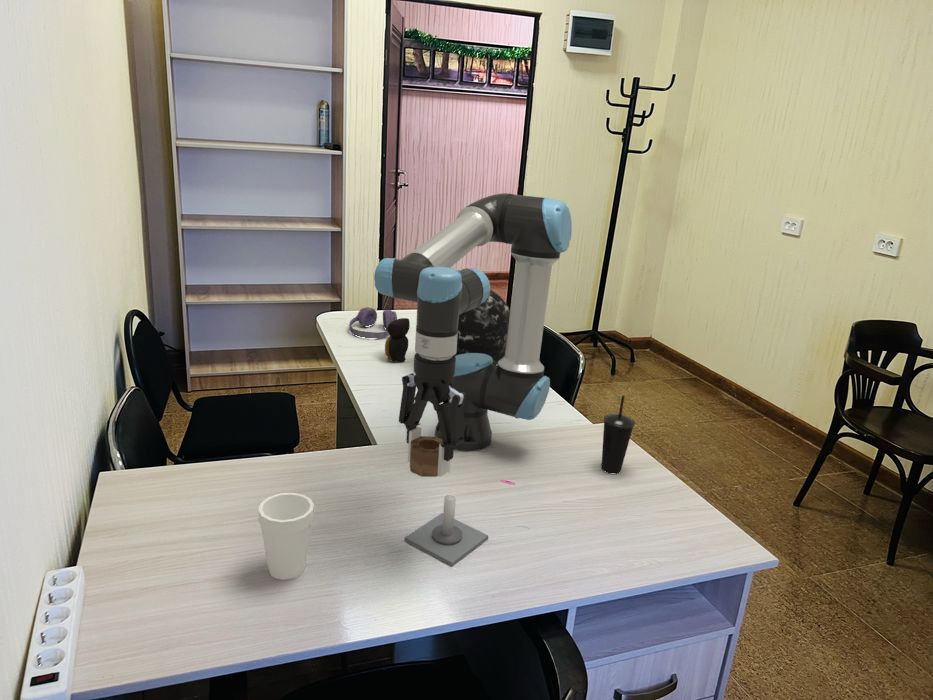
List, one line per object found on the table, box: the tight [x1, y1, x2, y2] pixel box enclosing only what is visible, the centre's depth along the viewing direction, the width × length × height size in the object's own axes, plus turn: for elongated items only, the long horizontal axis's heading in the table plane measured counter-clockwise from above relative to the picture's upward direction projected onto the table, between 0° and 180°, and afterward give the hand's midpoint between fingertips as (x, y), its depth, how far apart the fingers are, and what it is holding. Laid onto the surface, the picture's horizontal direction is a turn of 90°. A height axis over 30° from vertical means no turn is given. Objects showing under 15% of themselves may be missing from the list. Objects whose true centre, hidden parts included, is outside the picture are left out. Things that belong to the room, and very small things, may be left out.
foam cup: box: [257, 492, 315, 581], centre depth 119 cm, size 10×9×13 cm
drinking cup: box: [601, 395, 636, 475], centre depth 164 cm, size 8×8×20 cm
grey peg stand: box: [404, 494, 489, 567], centre depth 132 cm, size 12×12×10 cm
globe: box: [454, 288, 510, 365], centre depth 222 cm, size 30×30×30 cm
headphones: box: [348, 306, 398, 339], centre depth 259 cm, size 18×8×20 cm
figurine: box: [384, 317, 410, 363], centre depth 229 cm, size 10×7×15 cm
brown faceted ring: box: [409, 435, 443, 478], centre depth 127 cm, size 7×7×5 cm
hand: (428, 466), depth 128 cm, fingers closed on brown faceted ring, 7 cm apart
